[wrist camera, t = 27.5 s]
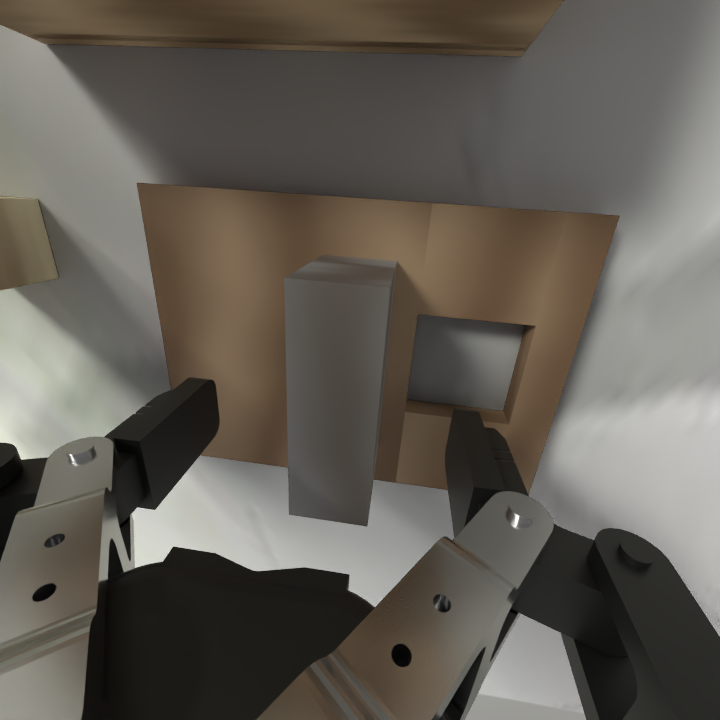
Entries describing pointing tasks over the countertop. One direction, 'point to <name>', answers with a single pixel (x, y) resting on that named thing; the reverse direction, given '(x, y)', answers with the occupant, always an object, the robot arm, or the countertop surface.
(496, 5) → the wooden box
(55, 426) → the countertop surface
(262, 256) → the lid
